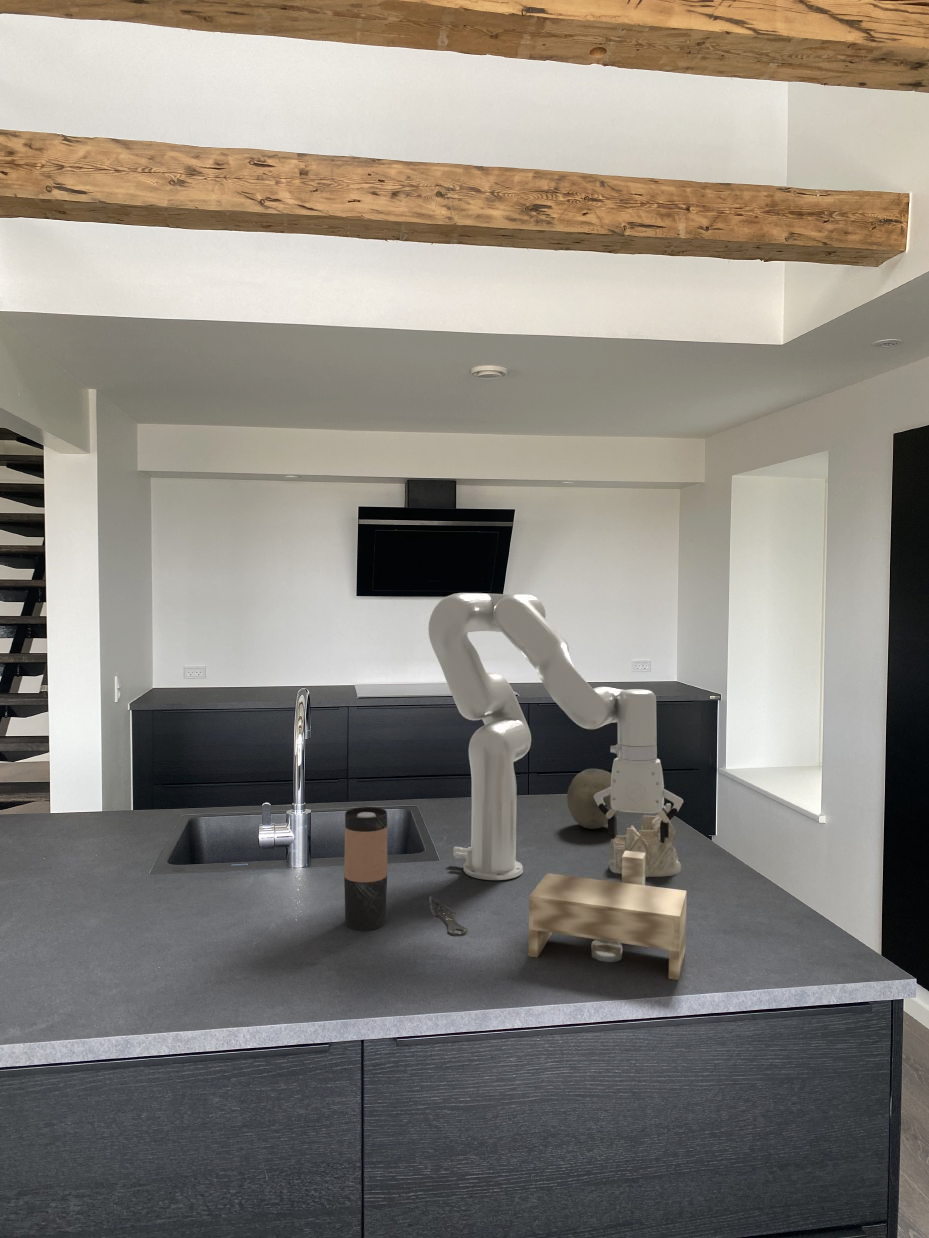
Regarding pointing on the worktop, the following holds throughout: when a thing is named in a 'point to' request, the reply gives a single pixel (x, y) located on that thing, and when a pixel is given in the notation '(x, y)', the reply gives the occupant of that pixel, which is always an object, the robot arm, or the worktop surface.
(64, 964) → the worktop surface
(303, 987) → the worktop surface
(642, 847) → the ceramic cottage
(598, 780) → the cantaloupe
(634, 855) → the tan piece
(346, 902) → the travel mug
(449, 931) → the throwing knife
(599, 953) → the steel puck
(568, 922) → the oak bench
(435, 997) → the worktop surface
